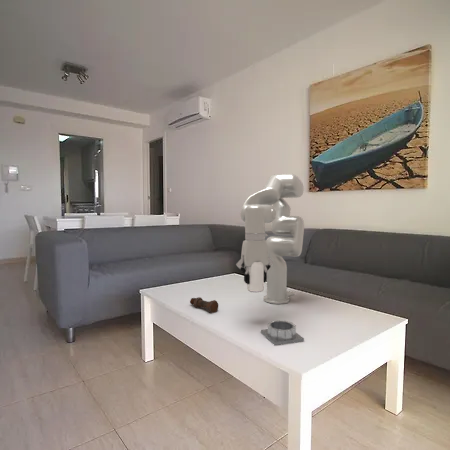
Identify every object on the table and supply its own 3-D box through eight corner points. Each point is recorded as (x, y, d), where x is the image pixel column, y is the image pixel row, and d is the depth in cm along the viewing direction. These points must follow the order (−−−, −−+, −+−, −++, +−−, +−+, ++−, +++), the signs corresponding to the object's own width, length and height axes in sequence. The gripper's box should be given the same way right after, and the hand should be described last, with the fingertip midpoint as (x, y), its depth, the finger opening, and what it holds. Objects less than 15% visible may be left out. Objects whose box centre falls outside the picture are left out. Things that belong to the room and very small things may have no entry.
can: (253, 286, 124) (252, 257, 123) (266, 289, 120) (266, 259, 119) (244, 290, 119) (243, 260, 118) (257, 293, 115) (257, 262, 114)
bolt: (193, 308, 142) (215, 315, 132) (186, 305, 139) (208, 312, 129) (198, 296, 144) (220, 302, 134) (190, 293, 141) (212, 298, 131)
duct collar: (287, 329, 113) (287, 318, 113) (303, 341, 103) (304, 329, 103) (260, 332, 110) (260, 321, 110) (274, 345, 100) (274, 333, 99)
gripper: (270, 235, 124) (270, 278, 126) (230, 237, 119) (231, 282, 120) (279, 237, 117) (279, 282, 118) (237, 239, 112) (237, 287, 113)
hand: (255, 282), depth 119 cm, fingers closed on can, 6 cm apart
